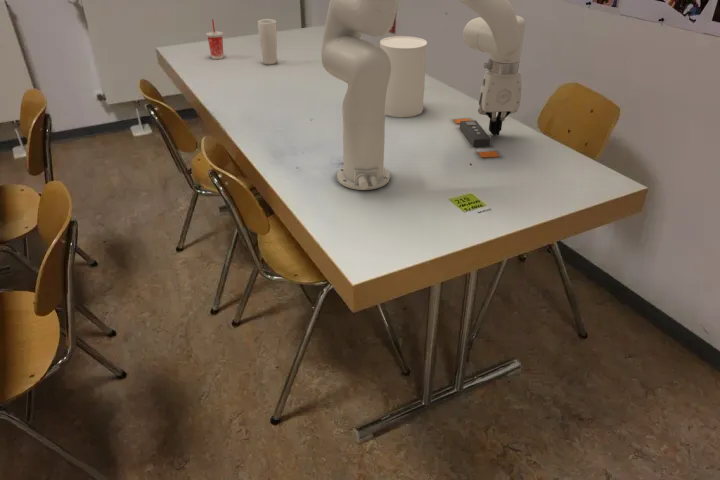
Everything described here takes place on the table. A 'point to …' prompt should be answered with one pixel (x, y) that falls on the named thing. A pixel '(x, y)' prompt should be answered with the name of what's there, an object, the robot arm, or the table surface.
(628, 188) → the table surface
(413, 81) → the canister
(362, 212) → the table surface
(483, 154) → the tiles
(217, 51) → the beverage cup
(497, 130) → the robot arm
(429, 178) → the table surface
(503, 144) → the table surface
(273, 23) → the drinking glass
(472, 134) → the remote
